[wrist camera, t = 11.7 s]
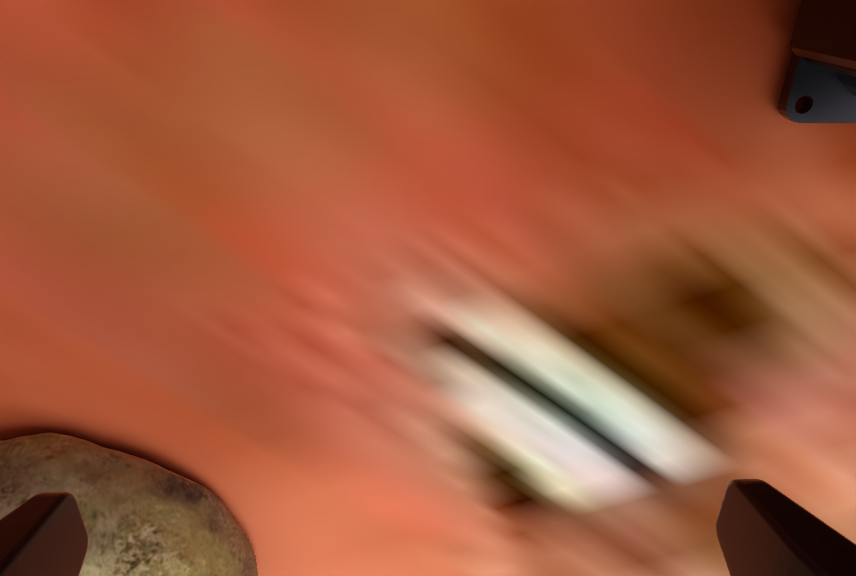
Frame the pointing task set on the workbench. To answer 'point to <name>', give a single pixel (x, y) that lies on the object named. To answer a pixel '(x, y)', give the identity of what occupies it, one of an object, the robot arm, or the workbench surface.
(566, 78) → the workbench surface
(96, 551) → the weight
